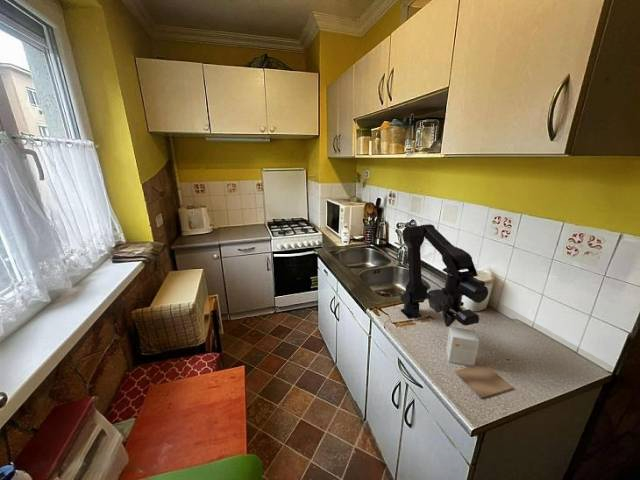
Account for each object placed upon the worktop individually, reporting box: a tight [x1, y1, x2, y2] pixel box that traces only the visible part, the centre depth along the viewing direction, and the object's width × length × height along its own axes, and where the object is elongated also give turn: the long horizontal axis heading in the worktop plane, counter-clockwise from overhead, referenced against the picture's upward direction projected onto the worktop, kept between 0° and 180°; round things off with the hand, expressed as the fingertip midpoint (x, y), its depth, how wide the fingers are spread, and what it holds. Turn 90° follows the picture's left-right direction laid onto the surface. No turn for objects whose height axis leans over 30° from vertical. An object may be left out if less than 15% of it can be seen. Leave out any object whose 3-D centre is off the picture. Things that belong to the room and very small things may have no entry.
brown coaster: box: [454, 362, 514, 400], centre depth 80 cm, size 10×12×1 cm
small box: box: [445, 326, 480, 367], centre depth 87 cm, size 8×6×10 cm
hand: (447, 326), depth 93 cm, fingers closed
